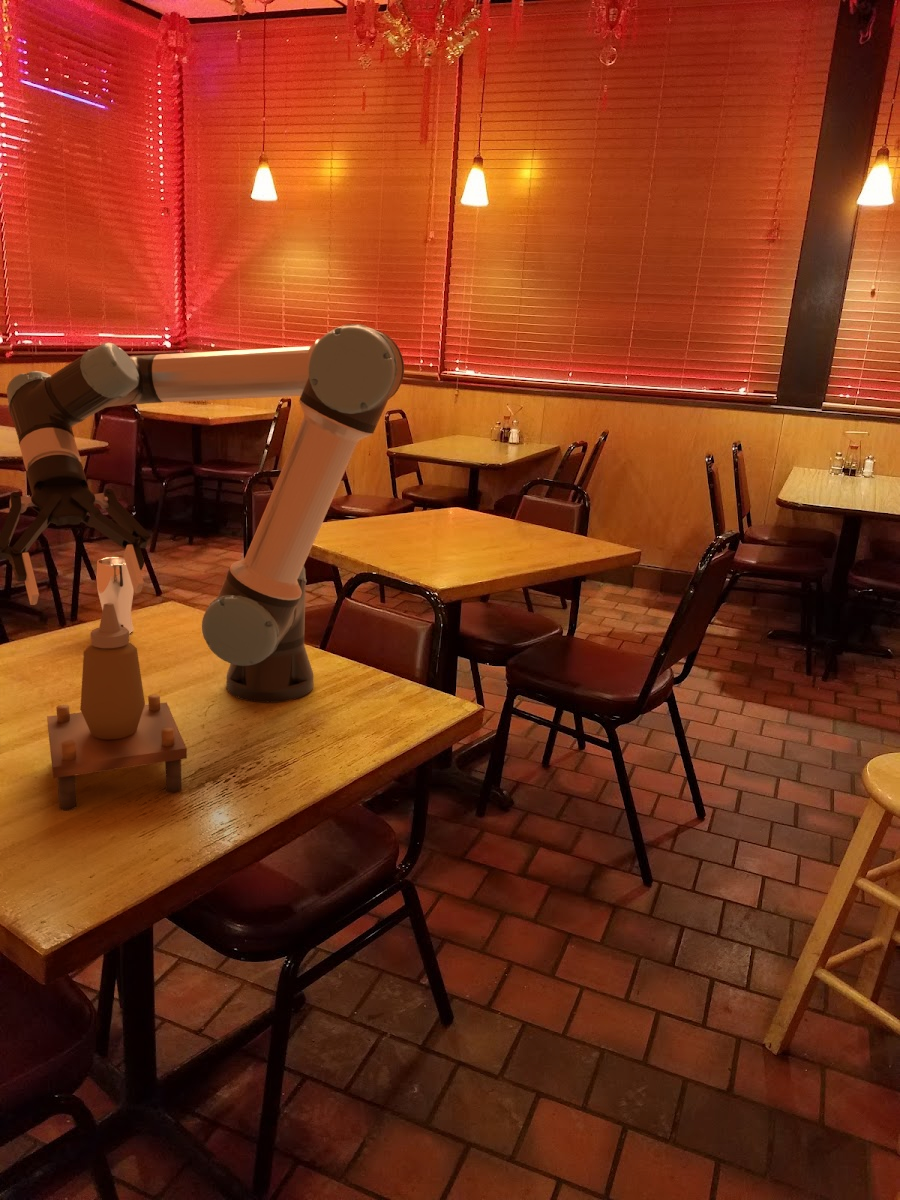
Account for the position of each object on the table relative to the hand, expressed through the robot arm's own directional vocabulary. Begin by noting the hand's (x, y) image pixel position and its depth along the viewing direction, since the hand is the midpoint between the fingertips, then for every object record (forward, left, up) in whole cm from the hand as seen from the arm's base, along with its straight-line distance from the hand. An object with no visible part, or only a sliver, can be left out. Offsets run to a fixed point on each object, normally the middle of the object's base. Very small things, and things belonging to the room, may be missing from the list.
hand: (89, 594), depth 114 cm
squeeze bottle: (-4, +7, -18) cm, 19 cm away
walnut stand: (-4, +7, -24) cm, 25 cm away
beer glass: (+11, -54, -24) cm, 61 cm away
